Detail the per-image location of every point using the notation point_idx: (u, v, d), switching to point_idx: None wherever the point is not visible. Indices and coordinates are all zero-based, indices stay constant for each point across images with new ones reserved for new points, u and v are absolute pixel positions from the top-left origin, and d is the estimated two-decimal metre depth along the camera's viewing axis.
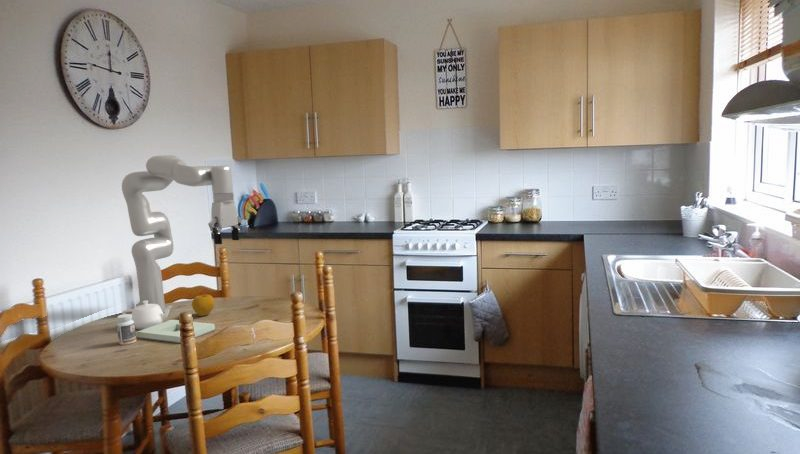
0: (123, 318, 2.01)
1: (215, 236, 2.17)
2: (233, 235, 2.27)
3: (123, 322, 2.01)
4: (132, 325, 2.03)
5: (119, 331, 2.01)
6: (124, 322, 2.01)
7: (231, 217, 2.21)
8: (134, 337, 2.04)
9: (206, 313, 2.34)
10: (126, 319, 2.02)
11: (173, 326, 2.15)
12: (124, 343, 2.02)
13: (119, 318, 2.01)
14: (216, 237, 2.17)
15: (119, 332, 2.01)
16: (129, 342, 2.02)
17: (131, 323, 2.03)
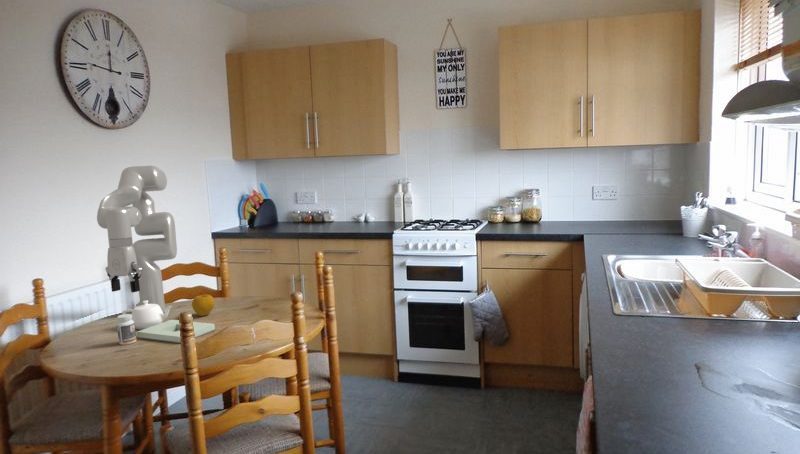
0: (123, 318, 2.01)
1: (135, 283, 2.01)
2: (115, 285, 2.05)
3: (123, 322, 2.01)
4: (132, 325, 2.03)
5: (119, 331, 2.01)
6: (124, 322, 2.01)
7: None
8: (134, 337, 2.04)
9: (206, 313, 2.34)
10: (126, 319, 2.02)
11: (173, 326, 2.15)
12: (124, 343, 2.02)
13: (119, 318, 2.01)
14: (137, 284, 2.01)
15: (119, 332, 2.01)
16: (129, 342, 2.02)
17: (131, 323, 2.03)
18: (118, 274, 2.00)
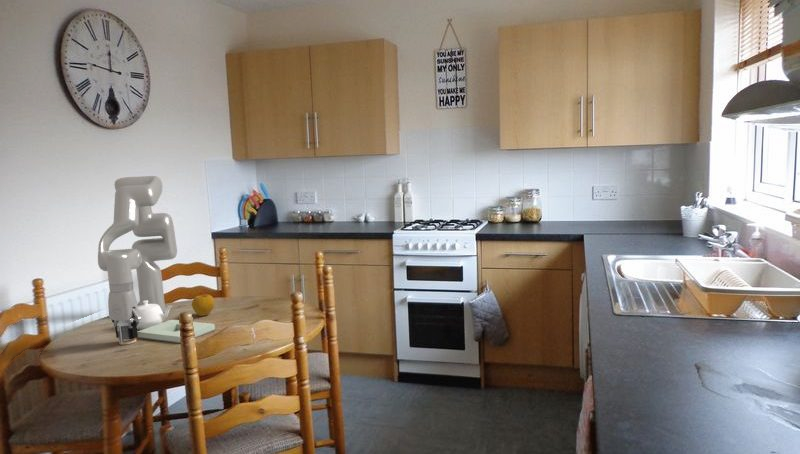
0: None
1: (133, 330, 2.02)
2: None
3: (123, 322, 2.01)
4: None
5: (119, 331, 2.01)
6: (124, 322, 2.01)
7: None
8: None
9: (206, 313, 2.34)
10: None
11: (173, 326, 2.15)
12: (124, 343, 2.02)
13: None
14: (135, 331, 2.02)
15: (119, 332, 2.01)
16: (129, 342, 2.02)
17: None
18: (119, 319, 2.00)
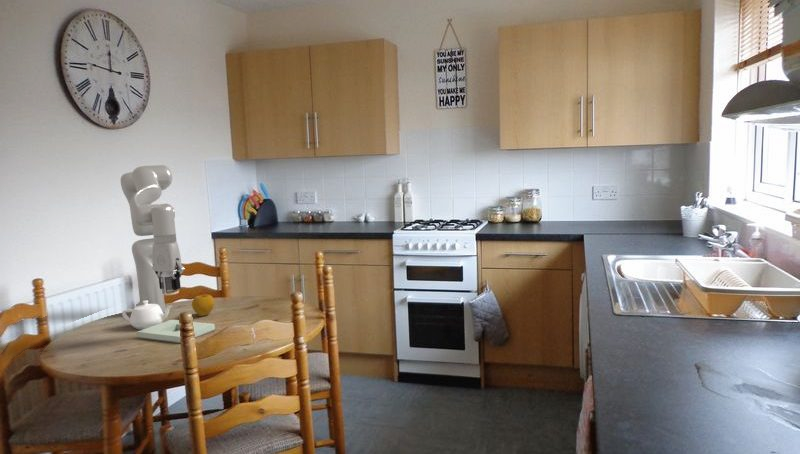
0: None
1: (177, 281, 2.07)
2: None
3: (167, 273, 2.07)
4: None
5: (163, 282, 2.07)
6: (168, 273, 2.07)
7: None
8: None
9: (206, 313, 2.34)
10: None
11: (173, 326, 2.15)
12: (167, 294, 2.07)
13: None
14: (178, 282, 2.07)
15: (163, 283, 2.07)
16: (172, 293, 2.07)
17: None
18: (163, 270, 2.06)
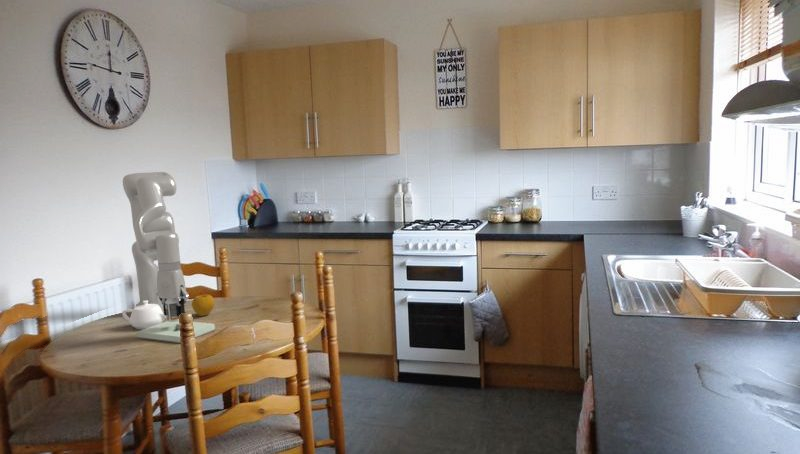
0: None
1: (181, 307, 2.08)
2: None
3: (171, 300, 2.08)
4: None
5: (167, 309, 2.08)
6: (172, 300, 2.08)
7: None
8: None
9: (206, 313, 2.34)
10: None
11: (173, 326, 2.15)
12: (172, 320, 2.08)
13: None
14: (182, 308, 2.09)
15: (167, 309, 2.08)
16: (177, 319, 2.09)
17: None
18: (167, 297, 2.07)
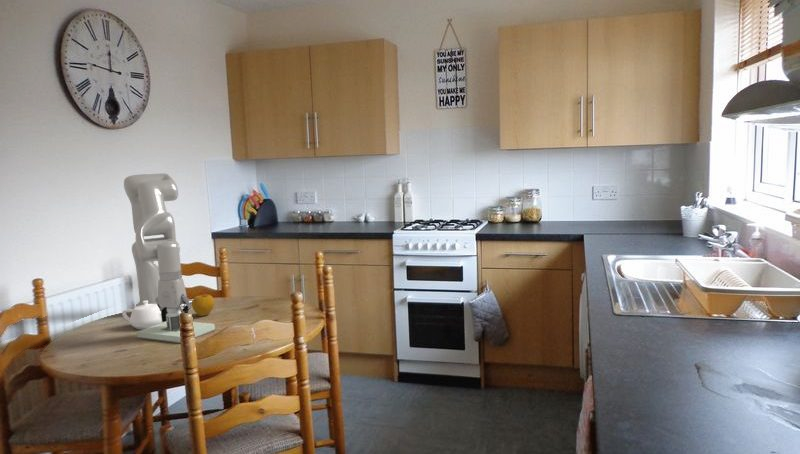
0: (172, 309, 2.08)
1: None
2: (165, 316, 2.12)
3: (172, 313, 2.09)
4: None
5: (168, 321, 2.09)
6: (173, 313, 2.09)
7: None
8: None
9: (206, 313, 2.34)
10: (175, 310, 2.09)
11: None
12: None
13: (168, 309, 2.09)
14: None
15: (168, 322, 2.09)
16: None
17: None
18: (168, 306, 2.08)
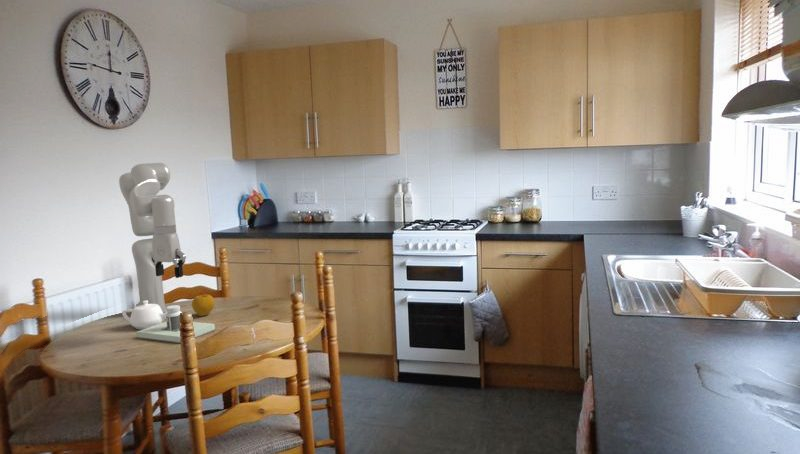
0: (172, 309, 2.08)
1: (179, 269, 2.09)
2: (159, 270, 2.13)
3: (172, 313, 2.09)
4: None
5: (168, 321, 2.09)
6: (173, 313, 2.09)
7: None
8: None
9: (206, 313, 2.34)
10: (175, 310, 2.09)
11: None
12: None
13: (168, 309, 2.09)
14: (181, 270, 2.09)
15: (168, 322, 2.09)
16: None
17: None
18: (163, 260, 2.08)
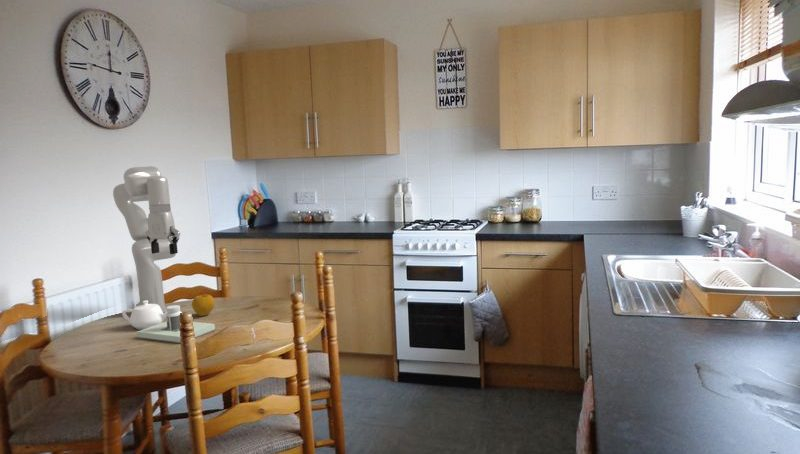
0: (172, 309, 2.08)
1: (174, 245, 2.18)
2: (154, 248, 2.23)
3: (172, 313, 2.09)
4: None
5: (168, 321, 2.09)
6: (173, 313, 2.09)
7: None
8: None
9: (206, 313, 2.34)
10: (175, 310, 2.09)
11: None
12: None
13: (168, 309, 2.09)
14: (175, 246, 2.19)
15: (168, 322, 2.09)
16: None
17: None
18: (158, 237, 2.18)
